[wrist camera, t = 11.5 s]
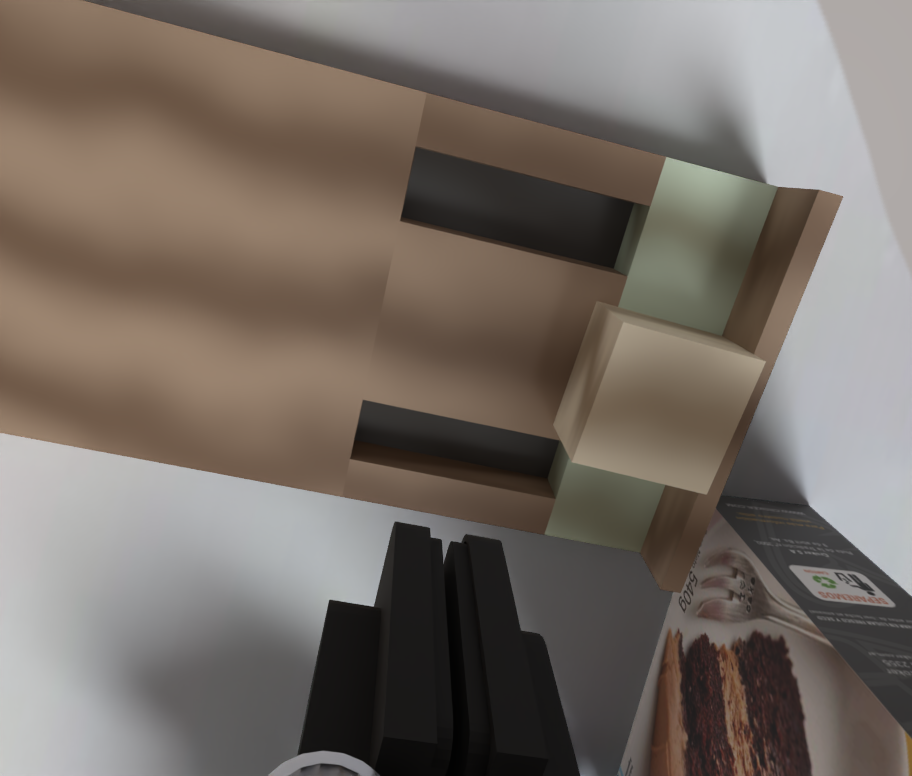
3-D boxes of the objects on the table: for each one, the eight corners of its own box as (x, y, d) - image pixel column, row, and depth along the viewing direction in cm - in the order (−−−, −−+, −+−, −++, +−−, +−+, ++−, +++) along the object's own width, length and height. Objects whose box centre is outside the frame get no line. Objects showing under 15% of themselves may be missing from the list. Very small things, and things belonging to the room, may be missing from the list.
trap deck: (-24, -22, 26) (-136, -68, 21) (770, 190, 30) (843, 196, 25) (-29, 400, 31) (-119, 448, 26) (642, 529, 35) (680, 593, 30)
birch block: (596, 301, 29) (623, 322, 25) (721, 335, 30) (766, 361, 26) (553, 425, 30) (571, 462, 27) (672, 454, 31) (706, 494, 28)
